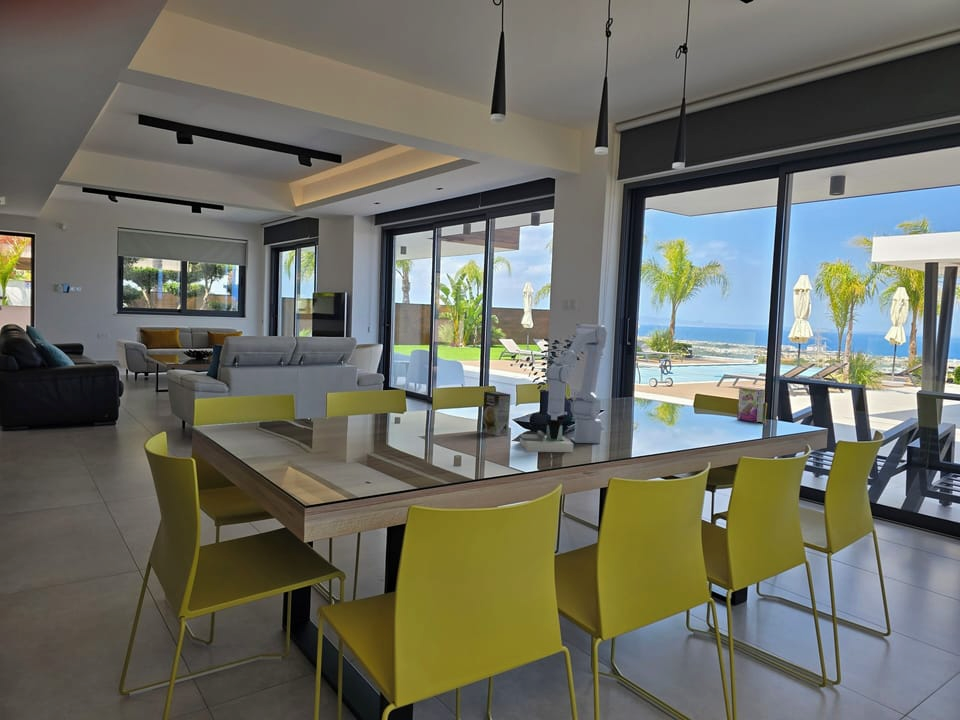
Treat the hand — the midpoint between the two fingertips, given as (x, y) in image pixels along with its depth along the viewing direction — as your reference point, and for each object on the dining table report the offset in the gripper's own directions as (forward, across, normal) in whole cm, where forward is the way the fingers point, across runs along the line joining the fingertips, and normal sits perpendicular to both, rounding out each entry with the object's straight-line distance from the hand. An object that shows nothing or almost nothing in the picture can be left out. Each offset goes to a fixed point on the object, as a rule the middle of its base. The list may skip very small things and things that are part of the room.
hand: (554, 437), depth 221 cm
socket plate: (+4, -1, +3) cm, 5 cm away
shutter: (+1, -2, +8) cm, 8 cm away
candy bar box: (+4, +108, -87) cm, 139 cm away
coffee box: (+4, +18, +24) cm, 31 cm away
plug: (+2, 0, 0) cm, 2 cm away
